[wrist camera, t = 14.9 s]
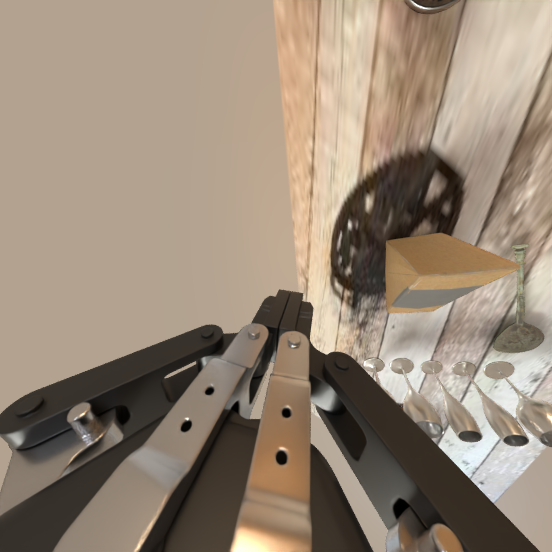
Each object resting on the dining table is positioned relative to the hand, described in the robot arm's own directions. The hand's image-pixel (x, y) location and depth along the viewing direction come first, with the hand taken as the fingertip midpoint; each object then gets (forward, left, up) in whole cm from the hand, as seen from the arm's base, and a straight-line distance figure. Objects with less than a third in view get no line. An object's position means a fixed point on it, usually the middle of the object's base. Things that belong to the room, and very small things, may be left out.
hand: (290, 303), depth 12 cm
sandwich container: (+8, +18, -27) cm, 34 cm away
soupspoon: (+10, +35, -27) cm, 45 cm away
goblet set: (+28, +29, -27) cm, 49 cm away
